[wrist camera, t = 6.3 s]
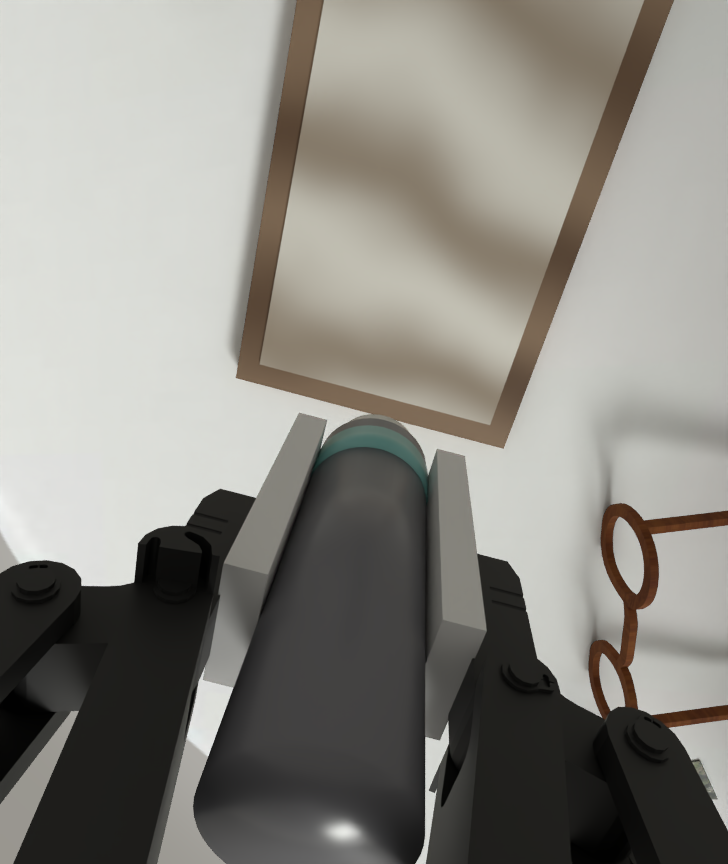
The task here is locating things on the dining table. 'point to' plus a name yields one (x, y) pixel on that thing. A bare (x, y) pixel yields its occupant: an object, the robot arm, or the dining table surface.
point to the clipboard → (435, 197)
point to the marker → (333, 673)
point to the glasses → (643, 606)
